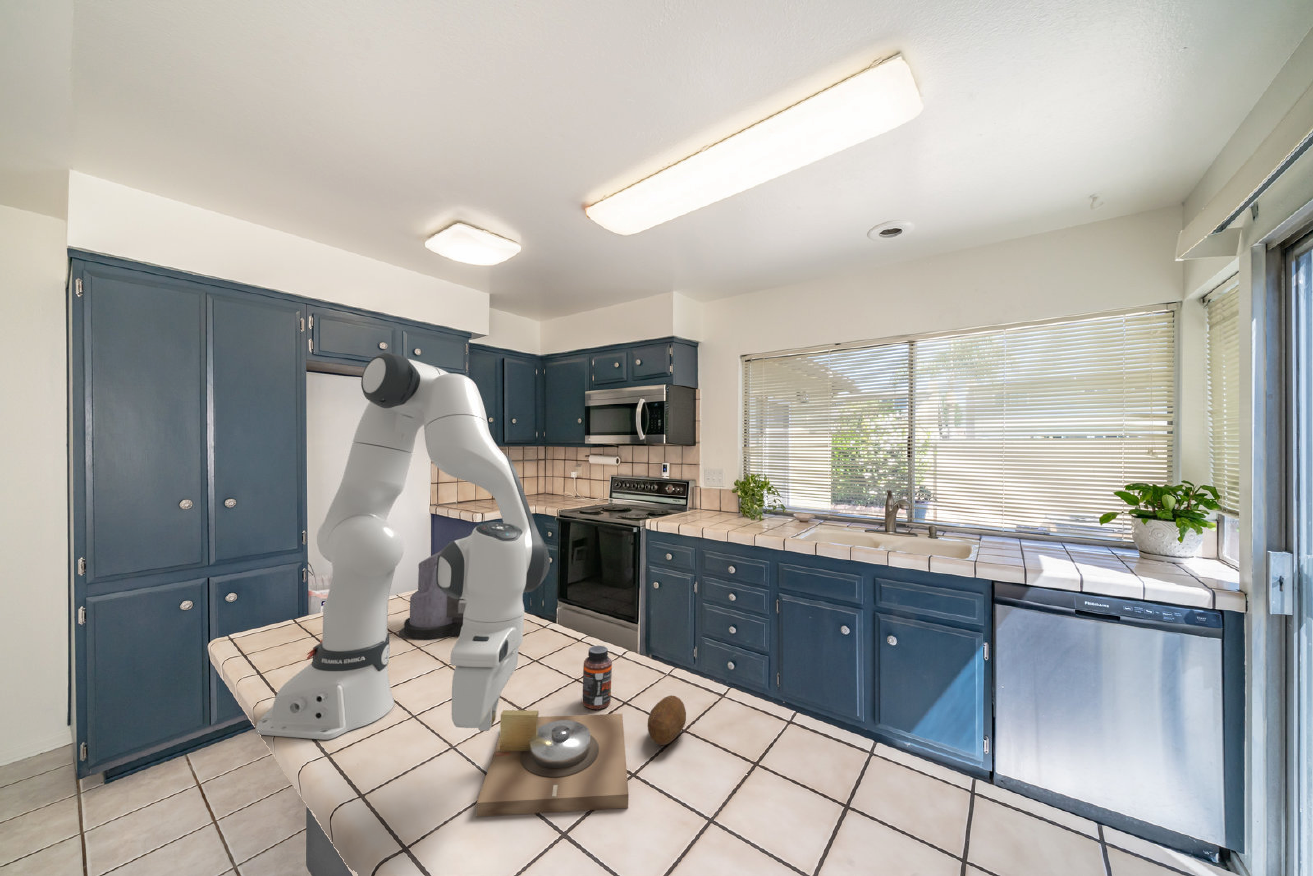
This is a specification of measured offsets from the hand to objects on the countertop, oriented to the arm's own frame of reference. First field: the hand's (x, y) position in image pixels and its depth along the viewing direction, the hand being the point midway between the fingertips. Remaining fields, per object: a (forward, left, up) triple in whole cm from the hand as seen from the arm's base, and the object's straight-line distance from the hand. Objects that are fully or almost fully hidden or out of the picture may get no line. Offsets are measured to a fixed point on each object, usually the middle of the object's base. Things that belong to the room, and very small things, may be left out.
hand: (487, 725), depth 74 cm
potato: (+29, +14, -12) cm, 35 cm away
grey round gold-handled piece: (+8, +9, -9) cm, 15 cm away
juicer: (-25, +71, -12) cm, 76 cm away
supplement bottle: (+16, +27, -12) cm, 34 cm away
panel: (+10, +8, -12) cm, 18 cm away
